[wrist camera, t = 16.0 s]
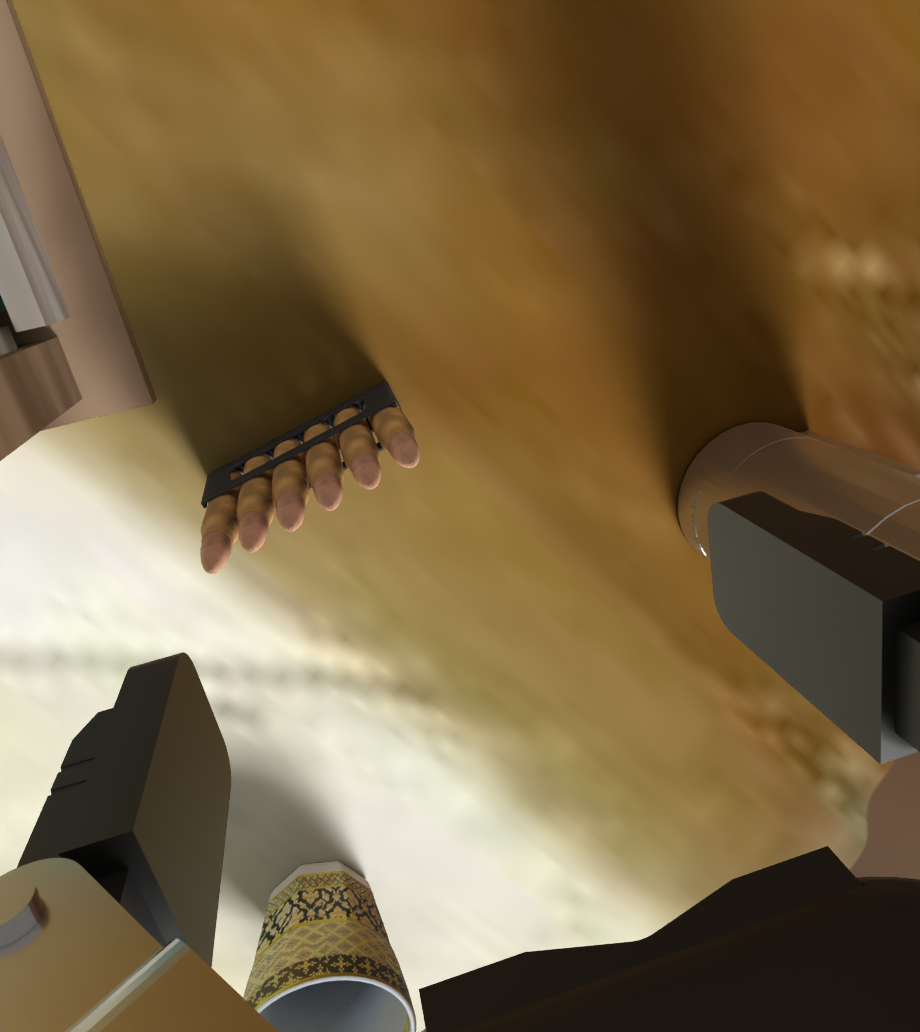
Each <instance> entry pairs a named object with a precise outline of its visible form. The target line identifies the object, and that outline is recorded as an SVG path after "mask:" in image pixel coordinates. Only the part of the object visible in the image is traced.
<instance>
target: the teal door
mask: <svg viewBox="0 0 920 1032" xmlns="http://www.w3.org/2000/svg"><path fill="white" fill-rule="evenodd" d="M6 311H7V309H6V307H5V304H4V302H3V300H2V297H1V295H0V313H2V312H6Z"/></svg>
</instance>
